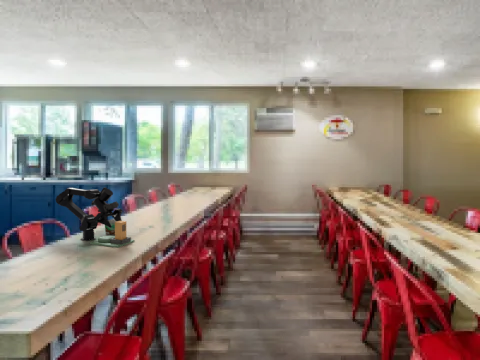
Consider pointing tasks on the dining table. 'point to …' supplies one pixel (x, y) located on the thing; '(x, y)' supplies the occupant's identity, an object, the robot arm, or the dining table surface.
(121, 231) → the chute block
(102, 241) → the green domed base plate
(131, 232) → the dining table surface
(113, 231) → the food container
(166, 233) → the dining table surface
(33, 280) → the dining table surface
